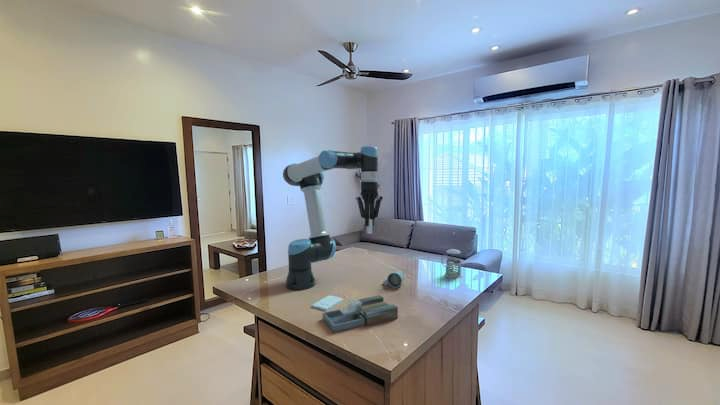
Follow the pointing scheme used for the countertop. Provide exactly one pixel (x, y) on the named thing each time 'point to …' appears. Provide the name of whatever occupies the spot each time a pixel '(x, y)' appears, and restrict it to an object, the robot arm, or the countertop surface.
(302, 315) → the countertop surface
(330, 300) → the external hard drive
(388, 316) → the slot board
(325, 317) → the chip tray
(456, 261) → the french press
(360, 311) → the aluminium chip
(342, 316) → the aluminium chip
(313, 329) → the countertop surface
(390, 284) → the ceramic mug
